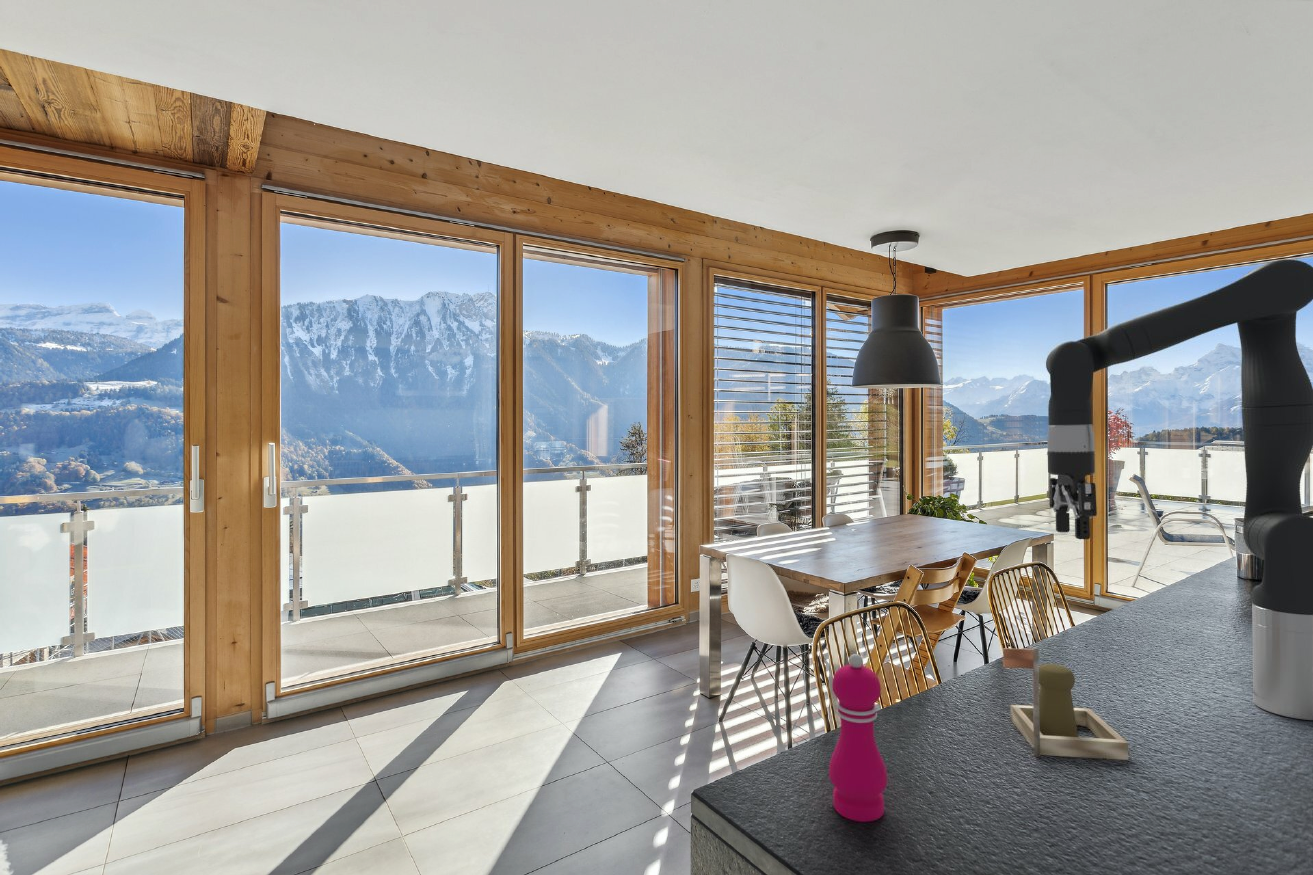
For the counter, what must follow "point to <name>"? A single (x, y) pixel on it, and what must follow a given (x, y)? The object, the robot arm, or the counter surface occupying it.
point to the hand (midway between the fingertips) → (1072, 535)
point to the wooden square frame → (1101, 747)
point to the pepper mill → (857, 745)
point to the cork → (1056, 701)
